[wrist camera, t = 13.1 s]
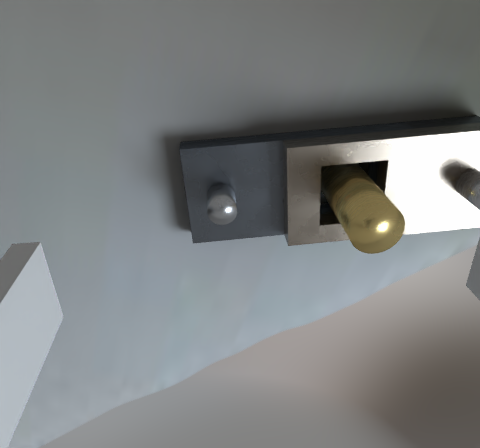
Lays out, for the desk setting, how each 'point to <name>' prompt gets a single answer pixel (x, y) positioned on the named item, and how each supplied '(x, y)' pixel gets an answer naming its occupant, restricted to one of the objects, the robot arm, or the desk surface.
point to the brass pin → (362, 208)
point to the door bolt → (309, 179)
